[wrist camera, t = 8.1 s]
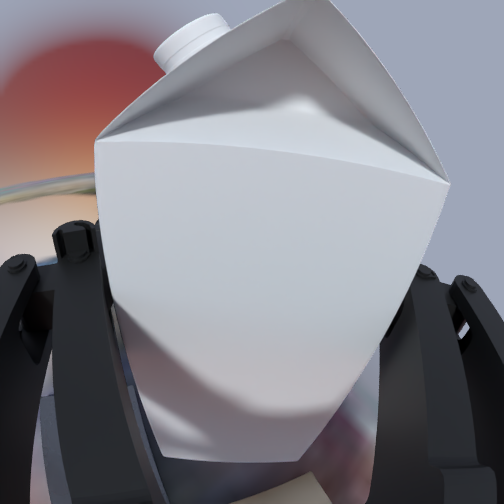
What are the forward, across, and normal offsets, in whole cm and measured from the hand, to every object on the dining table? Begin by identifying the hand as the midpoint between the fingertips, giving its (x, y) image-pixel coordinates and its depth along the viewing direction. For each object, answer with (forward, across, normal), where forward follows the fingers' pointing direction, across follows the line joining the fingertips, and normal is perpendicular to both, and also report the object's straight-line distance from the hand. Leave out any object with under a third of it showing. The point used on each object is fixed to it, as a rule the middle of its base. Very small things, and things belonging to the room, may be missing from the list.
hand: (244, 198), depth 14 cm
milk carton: (-5, 0, -11) cm, 12 cm away
